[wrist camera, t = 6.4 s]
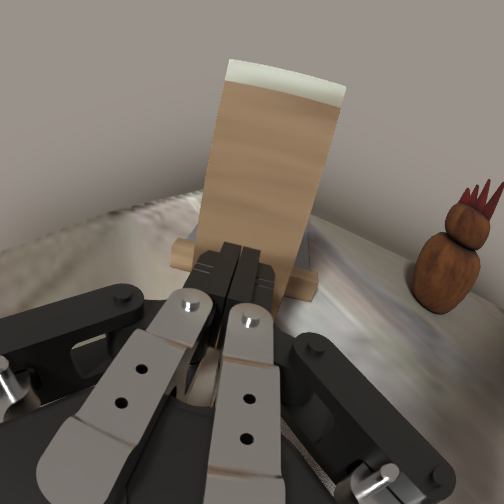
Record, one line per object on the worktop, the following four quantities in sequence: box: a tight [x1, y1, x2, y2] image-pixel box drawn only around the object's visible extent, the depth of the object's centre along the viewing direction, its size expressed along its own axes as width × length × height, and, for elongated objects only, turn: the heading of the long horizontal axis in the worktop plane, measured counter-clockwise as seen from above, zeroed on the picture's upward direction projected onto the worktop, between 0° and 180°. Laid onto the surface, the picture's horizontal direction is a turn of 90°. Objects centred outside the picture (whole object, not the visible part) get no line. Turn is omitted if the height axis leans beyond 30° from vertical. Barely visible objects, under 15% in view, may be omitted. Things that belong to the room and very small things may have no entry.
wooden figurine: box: [412, 179, 504, 314], centre depth 26 cm, size 7×6×15 cm
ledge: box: [170, 238, 319, 302], centre depth 26 cm, size 2×12×2 cm, turn 82°
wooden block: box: [191, 59, 346, 351], centre depth 17 cm, size 5×5×16 cm
